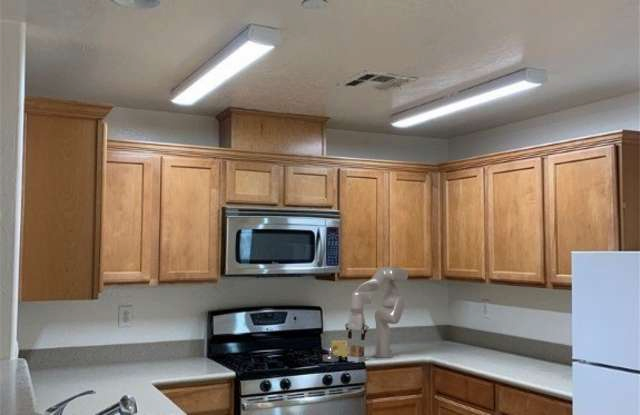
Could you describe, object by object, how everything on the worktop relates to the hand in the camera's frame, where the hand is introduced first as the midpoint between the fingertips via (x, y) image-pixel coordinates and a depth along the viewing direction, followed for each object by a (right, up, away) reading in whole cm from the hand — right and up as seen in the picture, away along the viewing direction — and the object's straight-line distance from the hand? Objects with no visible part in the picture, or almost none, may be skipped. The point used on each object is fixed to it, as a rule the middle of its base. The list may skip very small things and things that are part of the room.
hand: (356, 339), depth 387 cm
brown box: (0, -11, 0) cm, 11 cm away
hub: (-16, -13, -3) cm, 21 cm away
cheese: (-10, -15, +18) cm, 25 cm away
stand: (0, -14, -1) cm, 14 cm away
